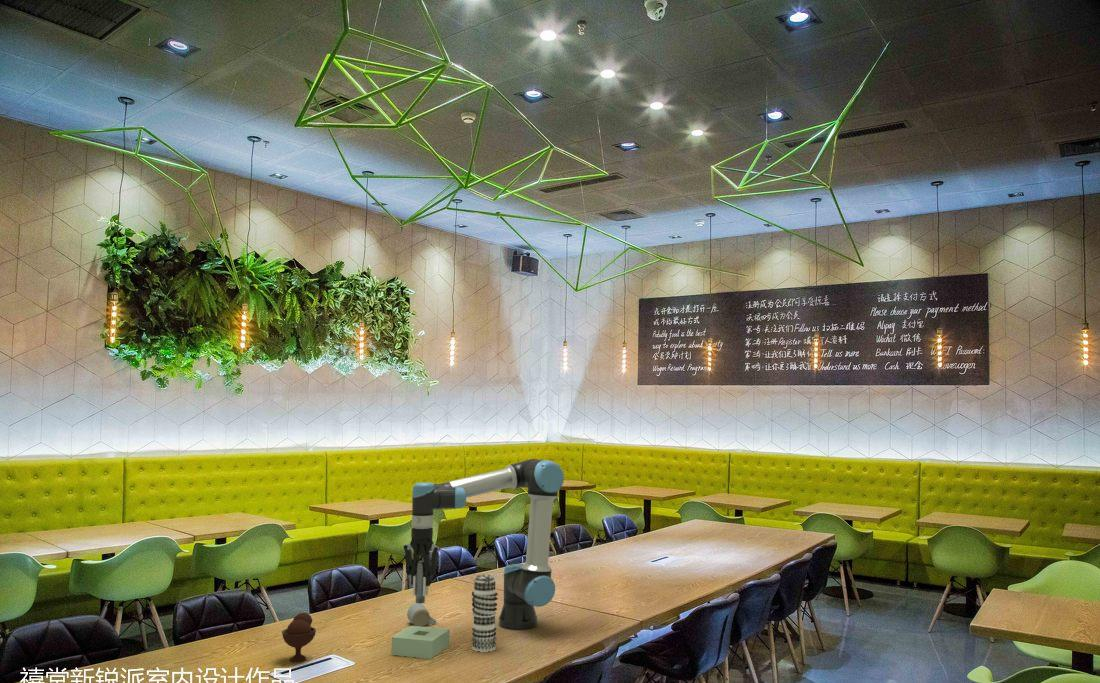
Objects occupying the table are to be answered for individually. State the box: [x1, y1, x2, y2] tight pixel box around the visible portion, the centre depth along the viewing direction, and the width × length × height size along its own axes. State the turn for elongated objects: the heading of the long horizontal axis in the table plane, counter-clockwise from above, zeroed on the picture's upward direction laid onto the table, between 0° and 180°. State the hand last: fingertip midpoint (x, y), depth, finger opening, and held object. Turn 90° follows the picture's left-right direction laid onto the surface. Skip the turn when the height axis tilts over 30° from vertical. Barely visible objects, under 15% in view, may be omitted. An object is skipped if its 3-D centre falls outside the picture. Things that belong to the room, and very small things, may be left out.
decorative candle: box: [471, 574, 499, 653], centre depth 273 cm, size 9×9×25 cm
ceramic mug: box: [406, 602, 437, 627], centre depth 302 cm, size 11×8×8 cm
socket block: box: [390, 625, 451, 660], centre depth 269 cm, size 15×15×6 cm
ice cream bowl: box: [281, 612, 317, 663], centre depth 259 cm, size 11×11×15 cm
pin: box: [415, 560, 426, 604], centre depth 272 cm, size 3×3×14 cm
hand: (420, 594), depth 272 cm, fingers closed on pin, 3 cm apart
